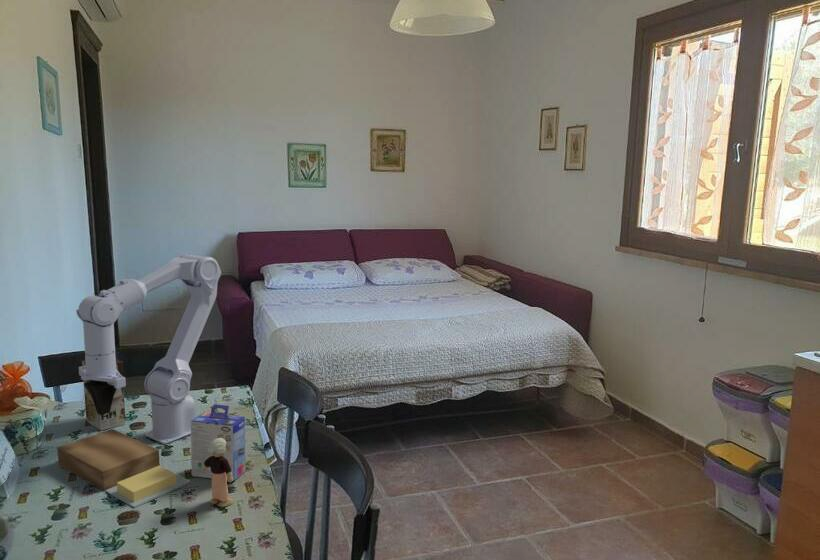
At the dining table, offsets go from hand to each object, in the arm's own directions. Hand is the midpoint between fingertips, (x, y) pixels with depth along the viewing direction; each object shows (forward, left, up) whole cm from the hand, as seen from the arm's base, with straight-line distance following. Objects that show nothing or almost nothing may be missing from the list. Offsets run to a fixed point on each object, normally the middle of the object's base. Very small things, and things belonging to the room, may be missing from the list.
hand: (103, 413), depth 129 cm
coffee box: (-10, -19, -11) cm, 24 cm away
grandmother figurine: (-3, +34, -11) cm, 36 cm away
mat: (+2, +19, -10) cm, 21 cm away
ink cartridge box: (-10, +25, -11) cm, 29 cm away
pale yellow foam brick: (+2, +19, -8) cm, 21 cm away
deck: (+2, +4, -10) cm, 11 cm away
